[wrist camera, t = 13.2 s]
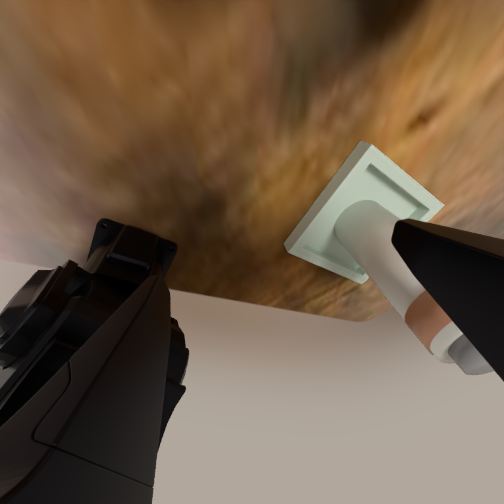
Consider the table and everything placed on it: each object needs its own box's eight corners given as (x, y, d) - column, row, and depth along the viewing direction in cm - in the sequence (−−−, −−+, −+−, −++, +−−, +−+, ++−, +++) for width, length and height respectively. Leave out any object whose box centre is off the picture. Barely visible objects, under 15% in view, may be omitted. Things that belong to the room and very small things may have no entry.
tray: (354, 275, 28) (361, 284, 27) (283, 243, 23) (287, 252, 22) (431, 198, 23) (444, 205, 22) (360, 140, 19) (371, 144, 17)
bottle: (359, 250, 25) (481, 384, 14) (323, 236, 23) (430, 377, 12) (394, 210, 23) (577, 333, 11) (357, 190, 21) (532, 314, 9)
